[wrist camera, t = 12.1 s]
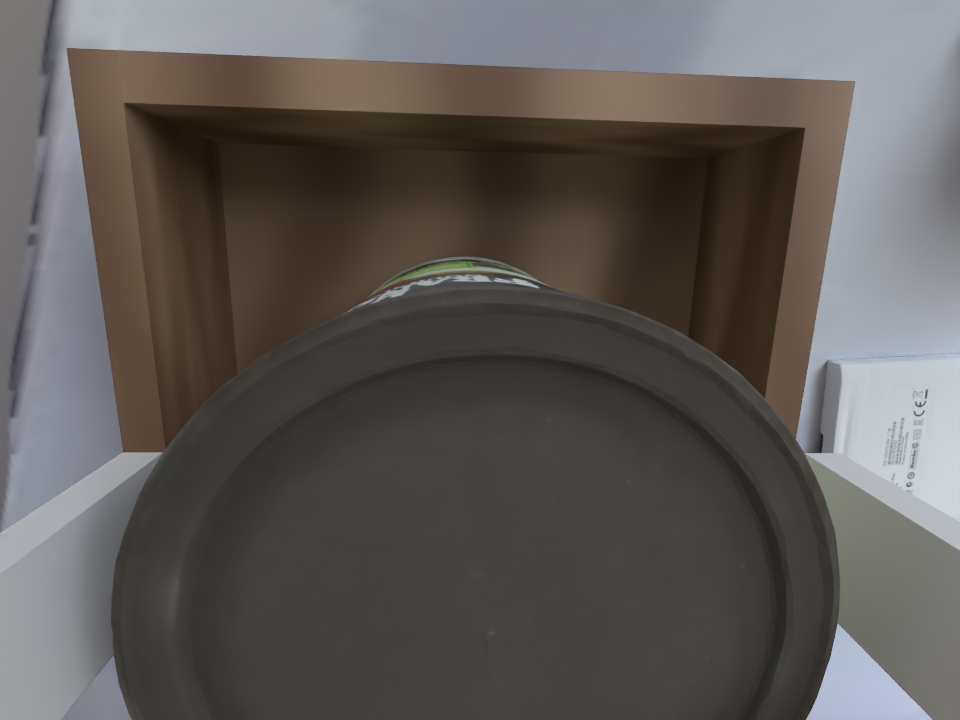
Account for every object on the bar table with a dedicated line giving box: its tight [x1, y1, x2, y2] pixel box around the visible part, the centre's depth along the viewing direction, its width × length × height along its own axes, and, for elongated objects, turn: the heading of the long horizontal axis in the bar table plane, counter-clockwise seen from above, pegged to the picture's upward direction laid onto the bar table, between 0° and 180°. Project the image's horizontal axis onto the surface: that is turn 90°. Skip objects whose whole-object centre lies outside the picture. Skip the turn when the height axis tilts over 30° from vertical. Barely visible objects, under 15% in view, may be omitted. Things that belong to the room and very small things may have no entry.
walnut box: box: [67, 48, 855, 452], centre depth 19 cm, size 20×20×6 cm
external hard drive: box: [820, 353, 960, 522], centre depth 24 cm, size 2×8×12 cm
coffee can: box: [111, 257, 840, 720], centre depth 14 cm, size 10×10×14 cm
